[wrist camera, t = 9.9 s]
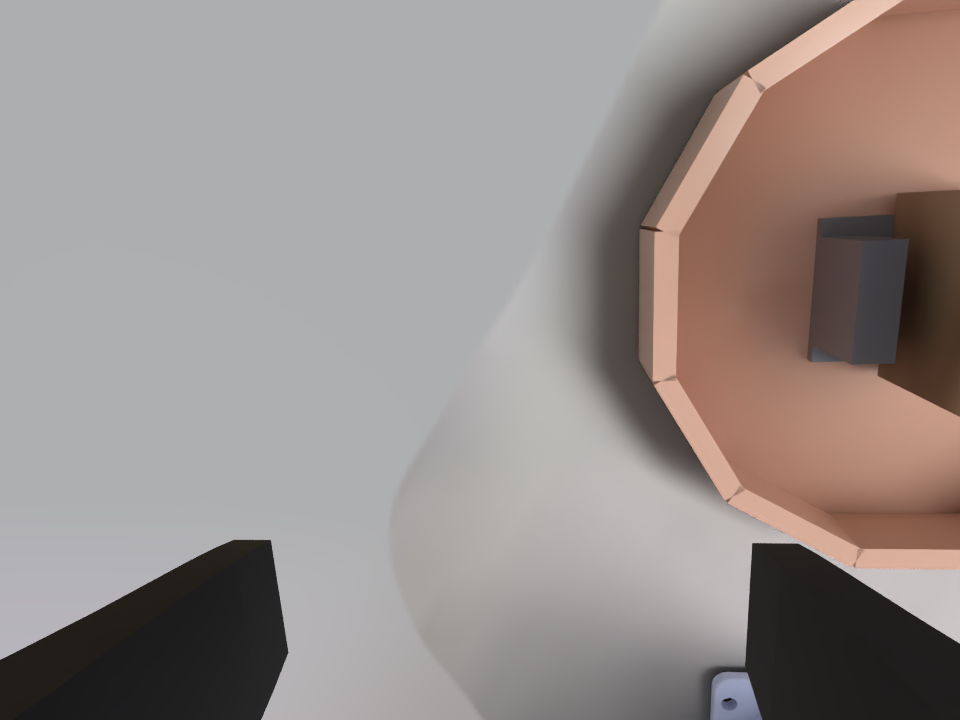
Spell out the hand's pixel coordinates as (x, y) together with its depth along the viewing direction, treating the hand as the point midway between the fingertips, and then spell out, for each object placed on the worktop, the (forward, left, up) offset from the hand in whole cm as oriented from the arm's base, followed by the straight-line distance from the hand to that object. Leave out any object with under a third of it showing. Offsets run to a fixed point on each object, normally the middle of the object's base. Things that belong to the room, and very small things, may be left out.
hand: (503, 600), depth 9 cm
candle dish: (+3, -11, -10) cm, 15 cm away
